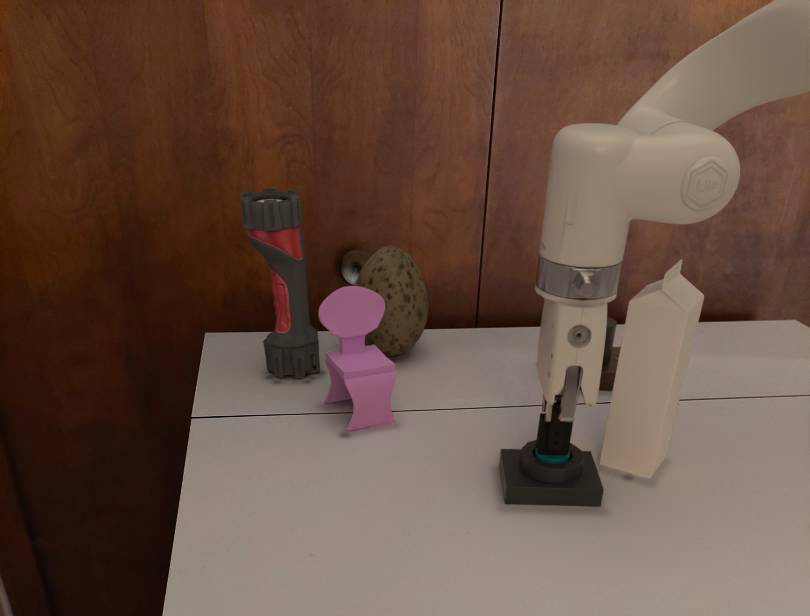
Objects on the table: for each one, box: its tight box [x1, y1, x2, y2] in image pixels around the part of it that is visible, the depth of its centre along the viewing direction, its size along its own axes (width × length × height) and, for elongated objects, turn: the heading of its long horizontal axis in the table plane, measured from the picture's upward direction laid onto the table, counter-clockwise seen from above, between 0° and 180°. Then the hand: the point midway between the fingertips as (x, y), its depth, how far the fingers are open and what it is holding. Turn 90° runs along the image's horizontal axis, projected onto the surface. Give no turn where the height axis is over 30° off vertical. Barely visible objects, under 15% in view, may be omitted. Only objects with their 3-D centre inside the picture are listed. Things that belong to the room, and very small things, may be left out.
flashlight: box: [240, 186, 321, 379], centre depth 103 cm, size 8×8×23 cm
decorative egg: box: [354, 245, 429, 357], centre depth 111 cm, size 11×11×15 cm
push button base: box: [498, 439, 605, 508], centre depth 85 cm, size 10×8×4 cm
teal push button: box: [535, 448, 570, 464], centre depth 85 cm, size 4×4×2 cm
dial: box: [602, 316, 618, 364], centre depth 107 cm, size 4×4×6 cm
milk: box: [599, 258, 705, 480], centre depth 85 cm, size 6×6×22 cm
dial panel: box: [599, 346, 621, 391], centre depth 109 cm, size 12×9×3 cm
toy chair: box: [317, 285, 397, 432], centre depth 95 cm, size 8×9×15 cm
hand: (551, 451), depth 84 cm, fingers closed
